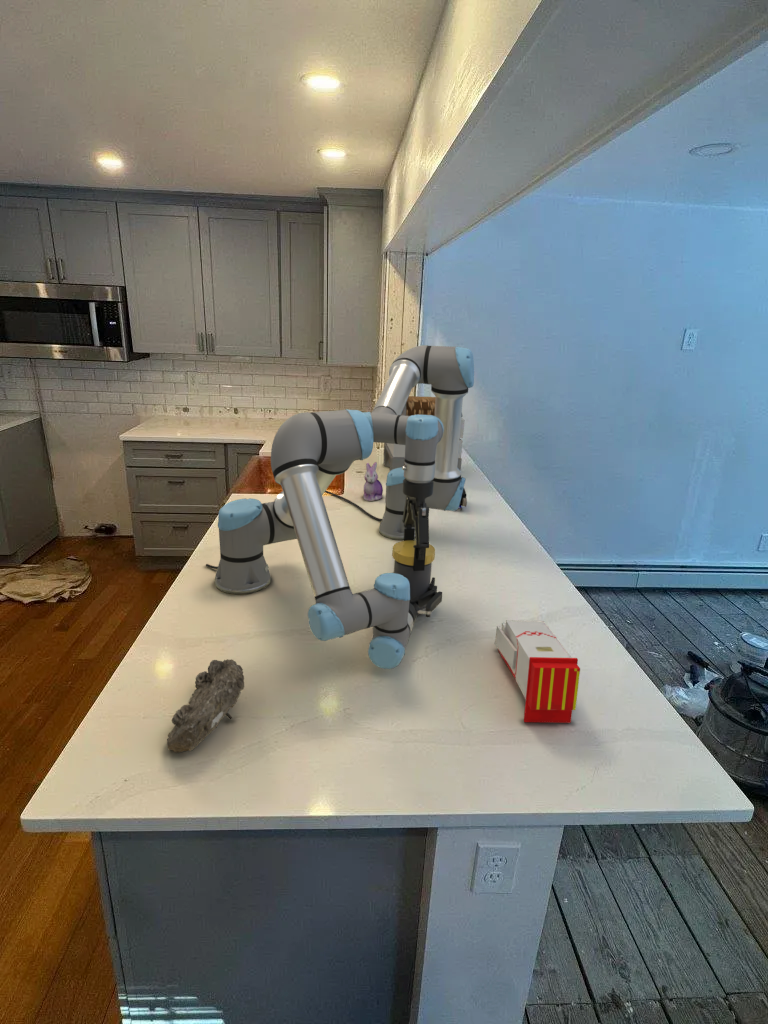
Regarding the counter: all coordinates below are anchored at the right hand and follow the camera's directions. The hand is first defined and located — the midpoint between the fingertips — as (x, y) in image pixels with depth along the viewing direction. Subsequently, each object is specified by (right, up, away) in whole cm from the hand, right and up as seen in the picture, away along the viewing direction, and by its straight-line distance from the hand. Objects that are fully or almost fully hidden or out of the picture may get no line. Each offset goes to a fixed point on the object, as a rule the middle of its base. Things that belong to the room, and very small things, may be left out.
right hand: (413, 560), depth 147 cm
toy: (+24, -24, -24) cm, 41 cm away
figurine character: (+22, +15, +84) cm, 88 cm away
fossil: (-40, -27, -39) cm, 62 cm away
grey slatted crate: (+10, +31, +128) cm, 132 cm away
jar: (-1, -13, +5) cm, 14 cm away
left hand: (+1, -6, +7) cm, 9 cm away
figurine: (-12, +18, +89) cm, 92 cm away
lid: (0, +3, -1) cm, 3 cm away
